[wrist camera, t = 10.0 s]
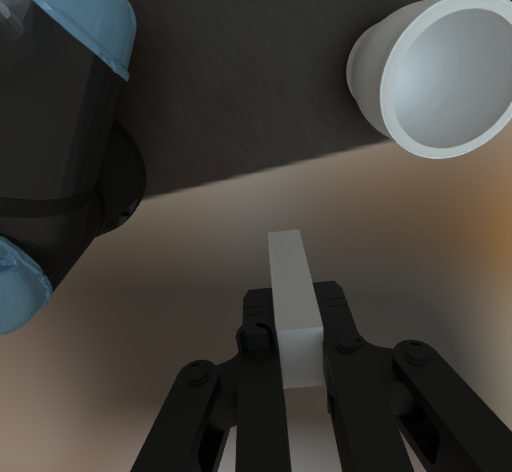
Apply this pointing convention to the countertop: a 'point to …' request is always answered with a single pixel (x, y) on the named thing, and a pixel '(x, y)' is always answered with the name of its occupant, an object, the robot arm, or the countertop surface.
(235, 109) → the countertop surface
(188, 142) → the countertop surface
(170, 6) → the countertop surface
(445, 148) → the jar
